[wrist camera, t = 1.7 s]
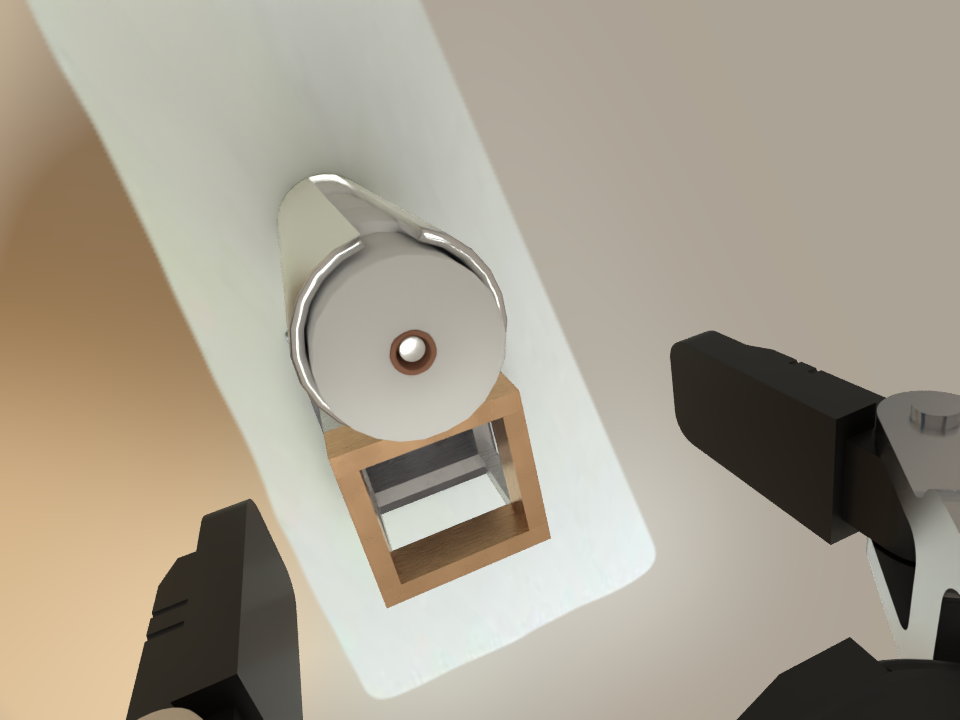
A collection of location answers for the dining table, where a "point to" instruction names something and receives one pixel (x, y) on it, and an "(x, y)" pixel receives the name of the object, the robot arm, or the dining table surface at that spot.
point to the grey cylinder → (385, 312)
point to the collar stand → (430, 469)
